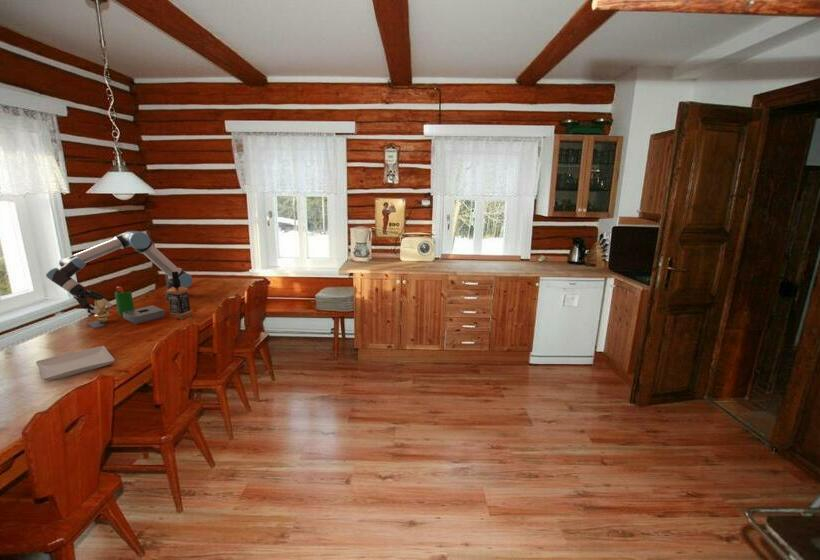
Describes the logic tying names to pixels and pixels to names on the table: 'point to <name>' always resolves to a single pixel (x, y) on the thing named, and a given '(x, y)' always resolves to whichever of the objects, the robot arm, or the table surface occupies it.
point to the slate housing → (143, 314)
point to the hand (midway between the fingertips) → (105, 309)
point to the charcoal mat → (96, 324)
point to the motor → (123, 300)
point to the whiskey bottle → (178, 299)
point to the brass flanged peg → (101, 311)
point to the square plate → (74, 363)
